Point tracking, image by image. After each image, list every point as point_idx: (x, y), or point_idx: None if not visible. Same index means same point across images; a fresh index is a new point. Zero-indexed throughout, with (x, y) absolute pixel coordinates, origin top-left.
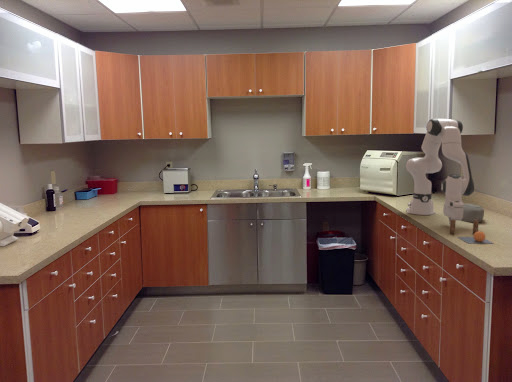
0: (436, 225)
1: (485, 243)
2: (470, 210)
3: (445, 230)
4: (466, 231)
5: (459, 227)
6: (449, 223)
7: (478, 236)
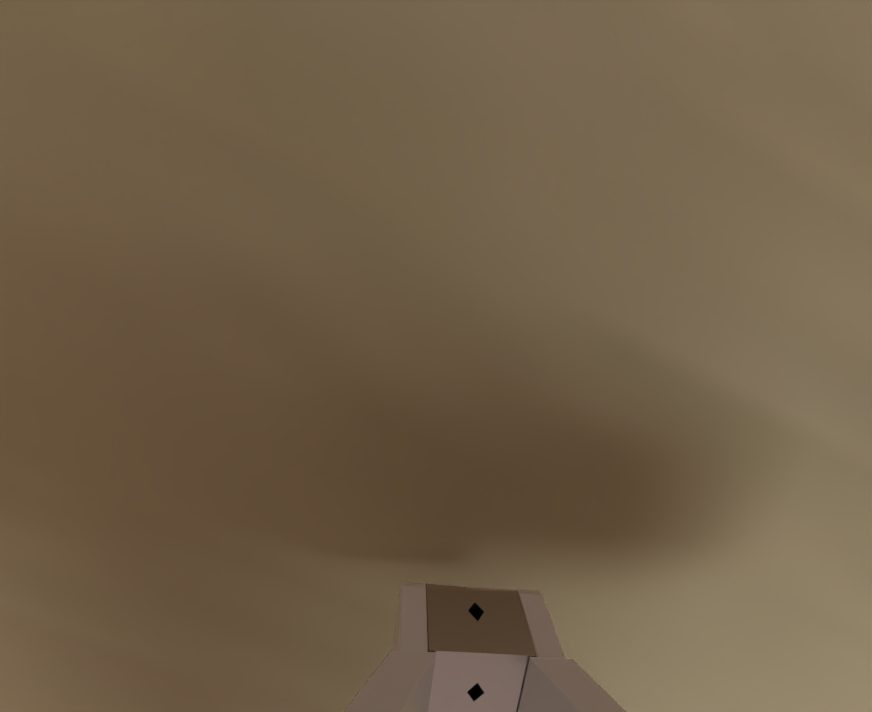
0: (751, 309)
1: None
2: None
3: (105, 250)
4: (54, 675)
5: None
6: (532, 601)
7: None
